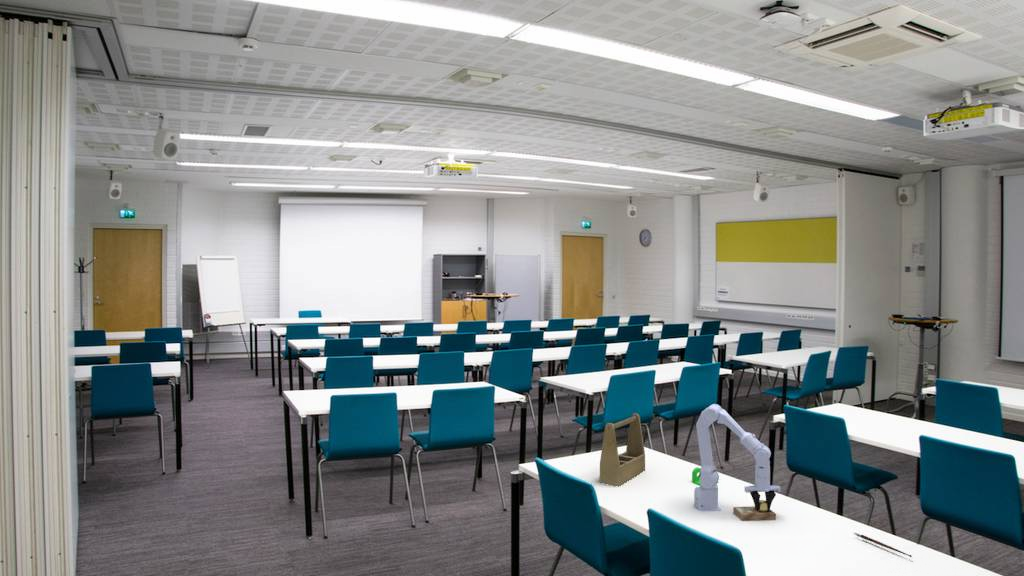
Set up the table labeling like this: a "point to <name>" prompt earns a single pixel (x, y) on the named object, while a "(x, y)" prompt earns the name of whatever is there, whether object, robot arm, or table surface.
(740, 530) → the table surface
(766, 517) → the pocket board
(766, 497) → the robot arm
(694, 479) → the mechanical part
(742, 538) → the table surface
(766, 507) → the cylinder
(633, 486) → the table surface
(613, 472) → the caddy
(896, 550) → the pen
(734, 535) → the table surface
